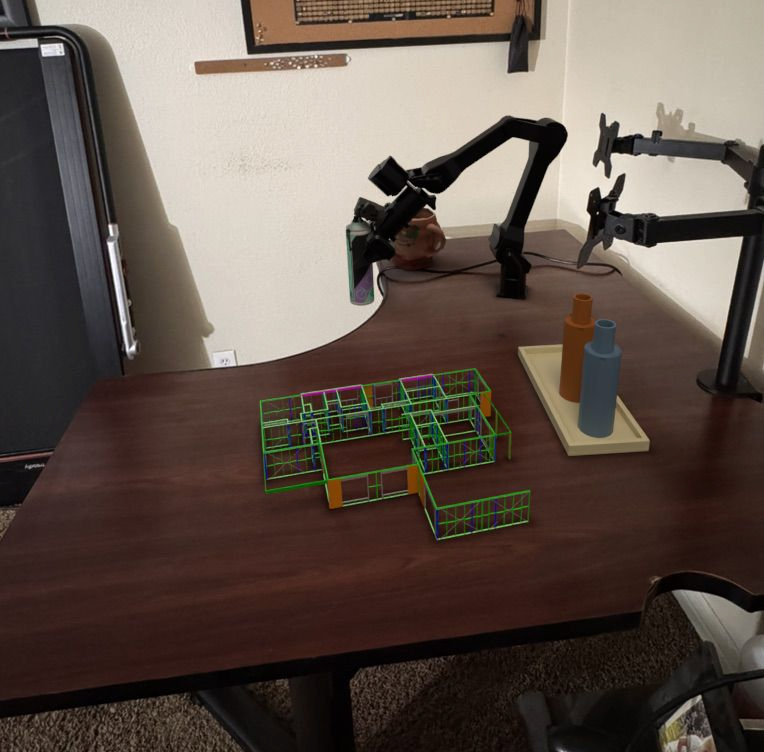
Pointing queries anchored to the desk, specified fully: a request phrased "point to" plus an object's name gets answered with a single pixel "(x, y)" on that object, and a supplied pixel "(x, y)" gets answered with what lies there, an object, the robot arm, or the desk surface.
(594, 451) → the tray
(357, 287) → the spray can
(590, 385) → the slate bottle
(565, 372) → the amber bottle
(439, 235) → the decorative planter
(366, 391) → the house model
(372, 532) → the desk surface
